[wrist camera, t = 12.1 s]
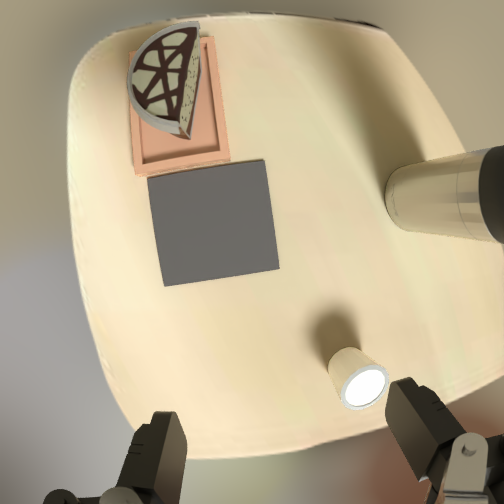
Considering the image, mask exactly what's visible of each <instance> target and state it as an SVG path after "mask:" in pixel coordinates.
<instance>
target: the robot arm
mask: <svg viewBox="0 0 504 504" xmlns="http://www.w3.org/2000/svg"><path fill="white" fill-rule="evenodd" d="M385 202H386V207H387V210H388V213H389V215H390V217H391V218H392V220H393V221H394V222H395V224H396V225H397V226H399V227H400V228H401V229H404V230H406V231H412V232H420V233H426V234H435V235H442V236H450V237H458V238H465V239H472V240H480V241H488V242H494V243H501V244H504V145H503V146H497V147H493V148H487V149H482V150H477V151H472V152H467V153H462V154H458V155H453V156H448V157H443V158H439V159H434V160H429V161H425V162H420V163H415V164H411V165H407V166H403V167H400V168H398V169H397V170H395V171H394V172H393V173H392V174H391V176H390V178H389V180H388V182H387V185H386V191H385ZM385 417H386V421H387V424H388V425H389V427H390V429H391V431H392V433H393V435H394V436H395V438H396V440H397V442H398V444H399V446H400V447H401V449H402V451H403V453H404V455H405V457H406V459H407V460H408V462H409V464H410V466H411V468H412V470H413V472H414V474H415V476H416V478H417V480H418V481H419V482H420V481H422V480H424V479H427V478H429V480H430V481H431V484H430V485H429V488H428V492H427V495H426V498H425V501H424V504H504V434H501V435H498V436H494V437H490V438H484V437H482V436H481V435H479V434H476V433H467V432H466V431H465V430H464V429H463V427H462V426H461V425H460V424H459V422H458V421H457V420H456V419H455V417H454V416H453V415H452V413H451V412H450V411H449V410H448V408H446V406H445V405H444V403H443V402H442V401H440V398H439V397H438V396H437V395H436V393H435V392H434V391H432V390H431V389H429V388H427V387H425V386H424V385H423V386H420V387H419V386H418V385H417V384H416V382H415V381H414V380H413V379H412V378H411V377H407V378H404V379H401V380H397V381H394V382H392V383H391V384H390V389H389V394H388V399H387V404H386V408H385ZM186 455H187V440H186V437H185V434H184V431H183V429H182V426H181V424H180V421H179V419H178V416H177V414H176V412H161V411H156V412H154V414H153V417H152V420H151V423H150V424H142V426H141V427H140V428H139V429H138V430H137V431H136V432H135V433H134V436H133V439H132V442H131V446H130V447H129V450H128V454H127V456H126V458H125V461H124V464H123V467H122V470H121V473H120V476H119V479H118V482H117V484H116V486H115V487H113V488H110V489H108V490H107V491H105V492H104V493H103V494H102V496H100V497H90V498H76V497H75V496H74V494H73V493H71V492H70V491H67V490H64V489H57V490H54V491H52V492H50V493H49V494H48V495H47V496H46V498H45V499H44V502H43V504H179V500H180V493H181V487H182V480H183V474H184V468H185V461H186Z"/></svg>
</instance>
